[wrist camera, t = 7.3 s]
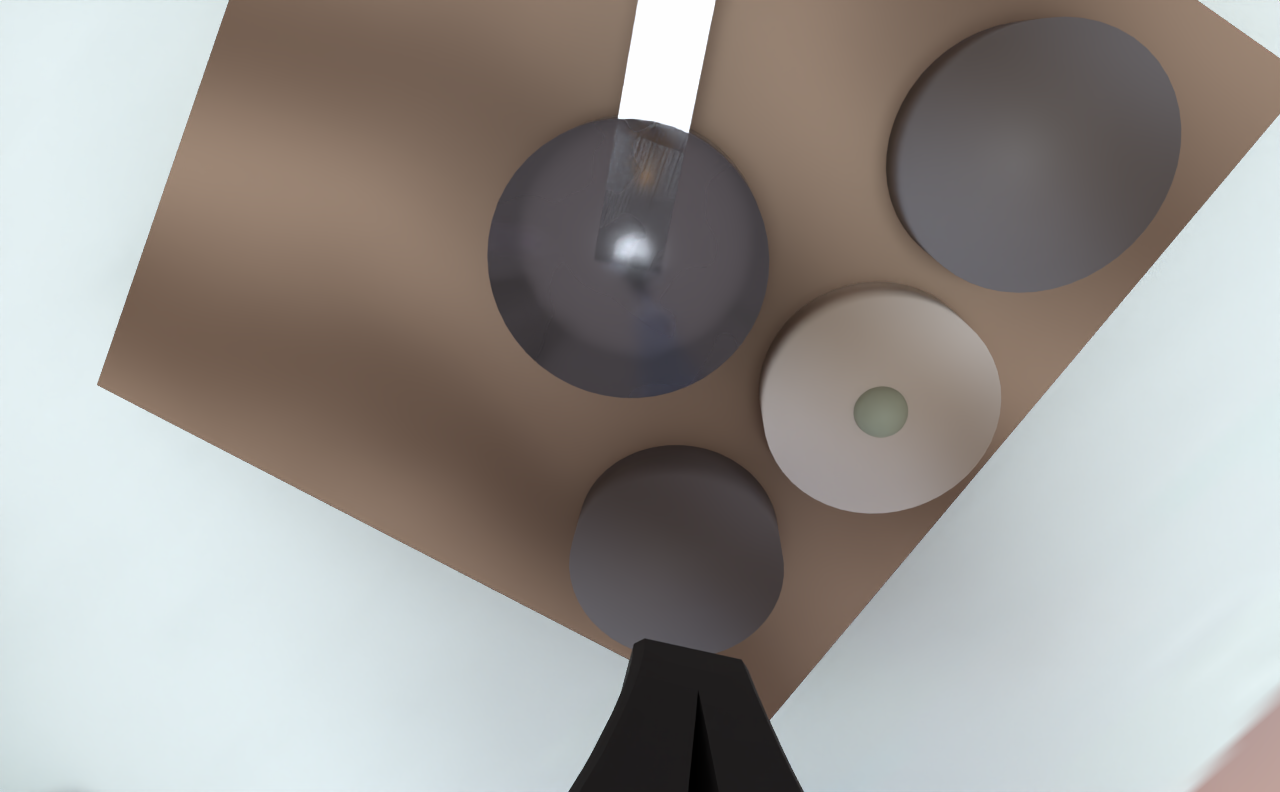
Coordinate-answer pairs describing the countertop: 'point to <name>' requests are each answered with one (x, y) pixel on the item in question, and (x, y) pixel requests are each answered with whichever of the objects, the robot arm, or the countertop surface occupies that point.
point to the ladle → (633, 232)
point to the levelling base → (777, 343)
